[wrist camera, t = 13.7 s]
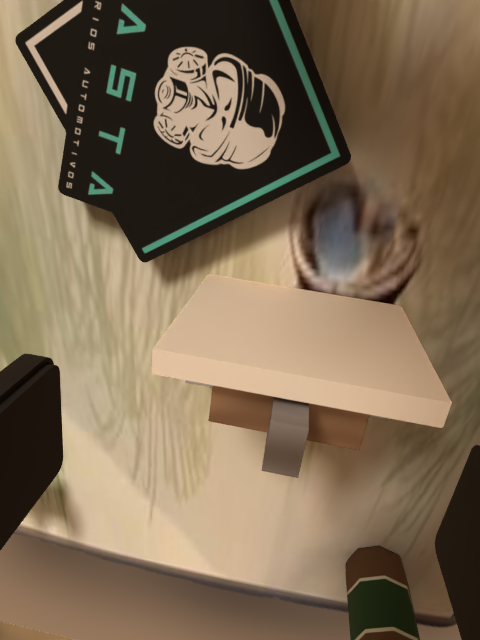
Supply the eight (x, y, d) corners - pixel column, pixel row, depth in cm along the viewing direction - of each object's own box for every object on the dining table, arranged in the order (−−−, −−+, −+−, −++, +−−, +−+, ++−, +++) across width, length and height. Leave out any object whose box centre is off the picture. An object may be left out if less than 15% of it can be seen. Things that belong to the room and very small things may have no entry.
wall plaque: (23, 203, 48) (289, 300, 47) (-2, 209, 44) (287, 314, 44) (66, -162, 36) (424, -35, 35) (38, -197, 32) (437, -55, 32)
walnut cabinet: (235, 317, 43) (200, 402, 29) (361, 338, 42) (384, 437, 28) (229, 363, 45) (193, 462, 31) (349, 384, 44) (366, 497, 30)
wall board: (208, 273, 47) (153, 348, 31) (401, 305, 45) (452, 403, 29) (200, 353, 51) (147, 458, 34) (378, 385, 49) (411, 512, 33)
